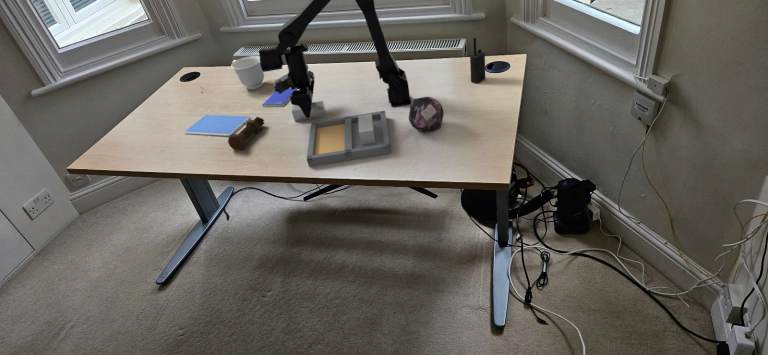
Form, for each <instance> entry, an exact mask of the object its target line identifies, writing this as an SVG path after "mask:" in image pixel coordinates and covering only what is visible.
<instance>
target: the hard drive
mask: <svg viewBox="0 0 768 355" xmlns="http://www.w3.org/2000/svg"><path fill="white" fill-rule="evenodd" d="M296 90H298V89H297V88H295V89H292V90H291V87H290V88H289V89H287V90H285V91H284V92H283V93H281V94H279V93H278V92H276V91H275V90H274V92H273V93H272V94H271V95H269V97H268V98H267V99H266V100H265V101H264V102H263V103H262V105H261V106H262V107H263V108H264V107H265V108H266V107H267V108H268V107H269V108H271V107H272V108H273V107H274V108H275V107H277V108H279V107H283V108H284V106H285V105H287V103H288V102H290V97H291V93H292V92H293V91H296Z"/></svg>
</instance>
